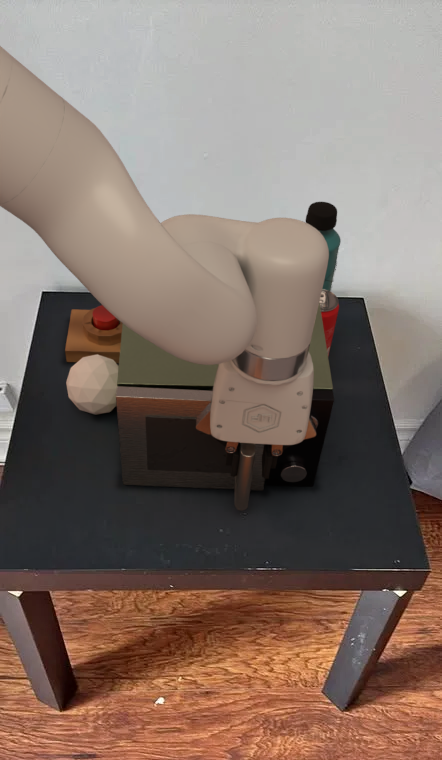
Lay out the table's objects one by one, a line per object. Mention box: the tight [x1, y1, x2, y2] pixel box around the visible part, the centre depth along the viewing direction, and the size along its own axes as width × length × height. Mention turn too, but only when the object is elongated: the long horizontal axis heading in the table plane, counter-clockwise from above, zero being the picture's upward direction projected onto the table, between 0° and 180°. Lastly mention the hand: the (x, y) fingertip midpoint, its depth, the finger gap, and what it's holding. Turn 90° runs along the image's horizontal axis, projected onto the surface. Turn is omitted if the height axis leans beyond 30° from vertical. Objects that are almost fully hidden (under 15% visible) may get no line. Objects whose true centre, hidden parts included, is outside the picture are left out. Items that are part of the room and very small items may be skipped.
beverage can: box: [319, 289, 340, 357], centre depth 104 cm, size 5×5×12 cm
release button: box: [92, 304, 119, 330], centre depth 106 cm, size 4×4×2 cm
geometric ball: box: [65, 354, 119, 415], centre depth 99 cm, size 8×8×8 cm
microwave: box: [117, 302, 335, 487], centre depth 93 cm, size 18×24×16 cm
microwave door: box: [116, 386, 266, 512], centre depth 87 cm, size 7×18×16 cm, turn 89°
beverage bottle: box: [305, 201, 342, 292], centre depth 107 cm, size 6×7×20 cm
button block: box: [64, 307, 123, 364], centre depth 108 cm, size 9×11×4 cm
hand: (249, 467), depth 86 cm, fingers open, 3 cm apart
